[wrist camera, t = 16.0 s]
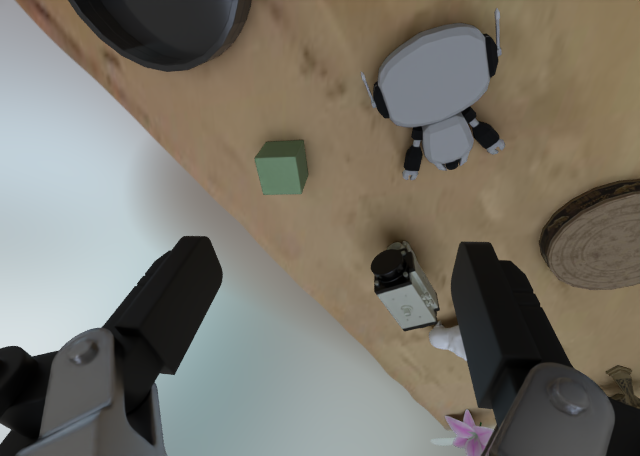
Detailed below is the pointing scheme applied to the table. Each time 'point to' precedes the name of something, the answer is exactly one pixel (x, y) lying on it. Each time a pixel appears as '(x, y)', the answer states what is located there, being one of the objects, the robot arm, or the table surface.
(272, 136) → the table surface
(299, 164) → the cube
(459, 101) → the robot toy
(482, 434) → the lily
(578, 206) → the wood log slice
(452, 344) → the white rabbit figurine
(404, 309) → the pneumatic valve
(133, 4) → the pan
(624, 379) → the eiffel tower
